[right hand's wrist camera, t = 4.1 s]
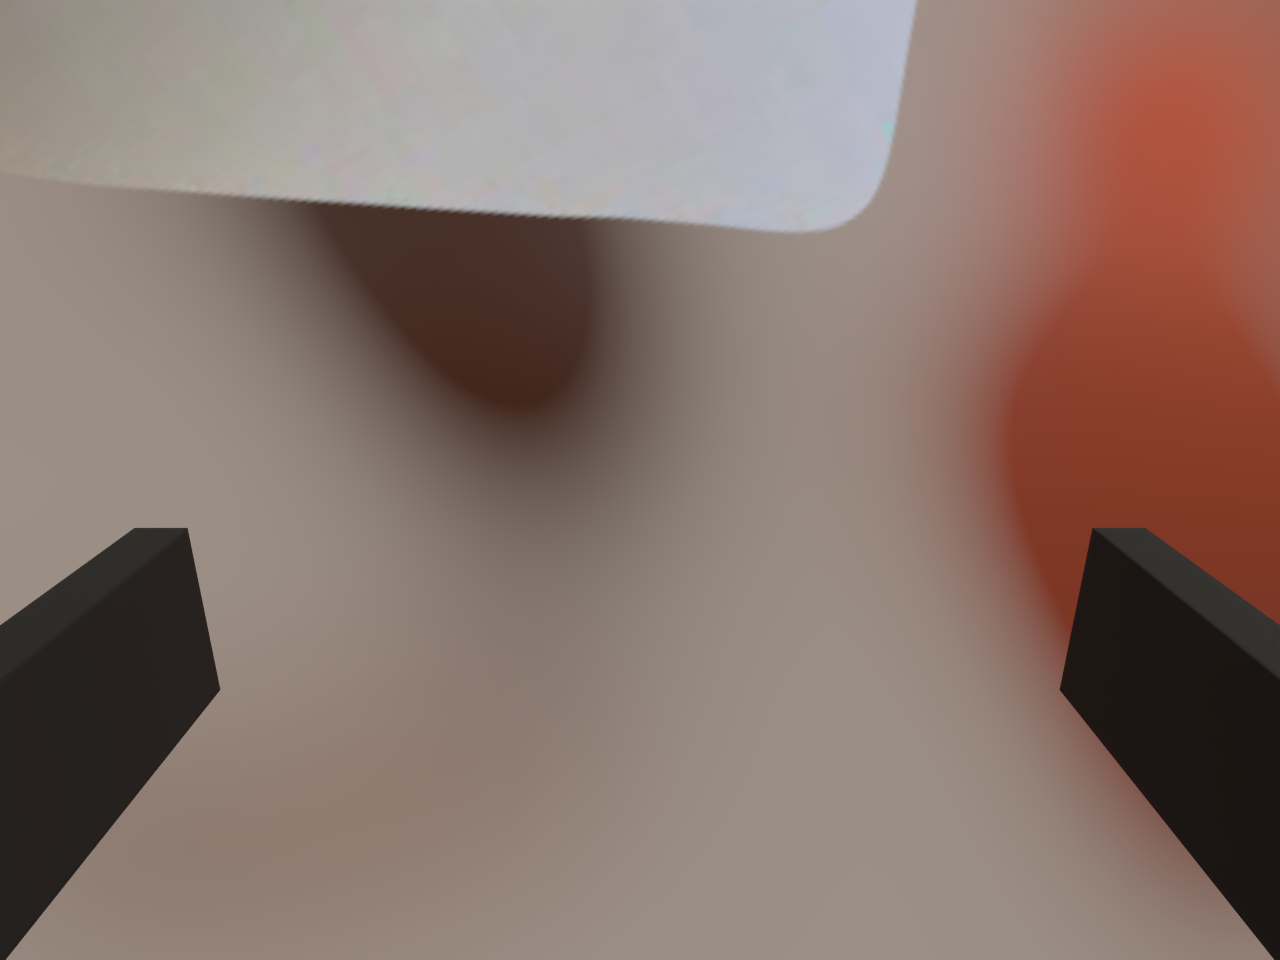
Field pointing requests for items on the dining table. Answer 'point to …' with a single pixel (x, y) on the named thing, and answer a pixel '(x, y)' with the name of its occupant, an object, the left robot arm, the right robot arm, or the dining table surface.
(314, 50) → the dining table surface
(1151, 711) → the right robot arm
